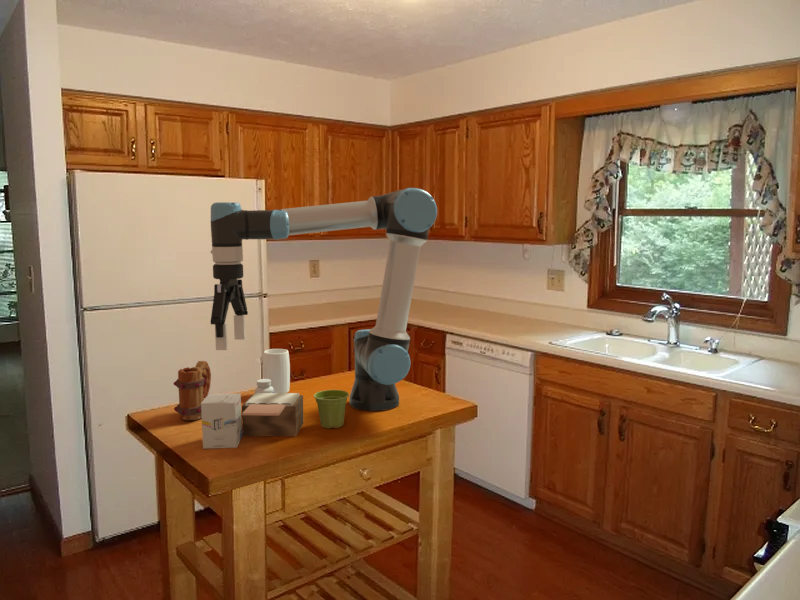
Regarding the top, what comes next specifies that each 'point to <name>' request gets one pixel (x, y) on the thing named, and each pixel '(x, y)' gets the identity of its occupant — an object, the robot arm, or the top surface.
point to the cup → (277, 369)
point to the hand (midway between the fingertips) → (231, 344)
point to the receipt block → (274, 425)
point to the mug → (192, 390)
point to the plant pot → (331, 407)
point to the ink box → (221, 420)
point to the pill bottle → (264, 386)
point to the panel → (264, 410)
